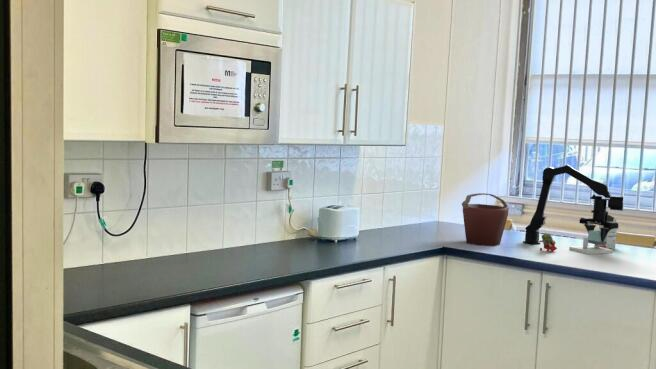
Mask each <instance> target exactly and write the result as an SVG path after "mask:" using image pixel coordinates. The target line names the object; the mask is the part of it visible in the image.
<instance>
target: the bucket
mask: <svg viewBox="0 0 656 369" xmlns="http://www.w3.org/2000/svg"><path fill="white" fill-rule="evenodd" d="M482 195H483V196H487V195H488V196H490V197H493V198H495V199H496V200H498V201H500V203H501V204H502V206H501V205H495V204H482V203H481V204H480V203H470V202H471V199H472V198H473V197H476V196H482ZM461 207H462V215H463V216H462V217H463V226H464V233H465V242H466V244H469V245H473V246H474V245H475V246H478V247H481V246H482V247H496V246H499V245H501V241H502V239H503V234H504V231H505V227H506V224H507V220H508V217H509V208H508V204H507V203H506V201H505V200H504V199H502V198H500V197H499V196H496V195H494V194H492V193H485V192H484V193H481V192H479V193H478V192H477V193H471V194H468V195H466V197H465V200H464V201H463V202H461Z"/></svg>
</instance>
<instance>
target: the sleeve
mask: <svg viewBox="0 0 656 369" xmlns="http://www.w3.org/2000/svg"><path fill="white" fill-rule="evenodd" d="M587 234H588V235H587V238H588V244H591V245H595V244H596V245H603V244H606V242H607V236H606V238H605V240H604V241H603V242H602V241H601V231H599V230H598V229H594V230H590V231H589V232H588V231H587Z"/></svg>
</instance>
